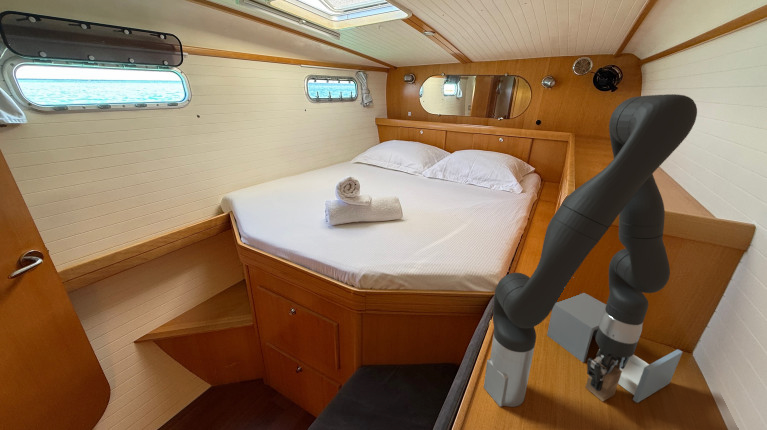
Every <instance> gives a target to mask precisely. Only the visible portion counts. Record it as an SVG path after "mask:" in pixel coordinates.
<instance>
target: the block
mask: <svg viewBox="0 0 767 430" xmlns="http://www.w3.org/2000/svg"><path fill="white" fill-rule="evenodd" d="M600 365H602V364H600ZM602 366H603V365H602ZM603 367H604V366H603ZM604 368H606V367H604ZM606 369H607V368H606ZM621 373H622V371H621V370H620V369H617V368H616V367H615V366H614V367H613V369H612V371H611V373H610V374H606V377H605V379H604V381H603V384H602V388H601V390H600V391H597V390H595V389H594V388H593V387H592V386H591V385H590V383H591V380H592V377H590V376H589V375H588V378H587V381H586V384H585V388H586V389H587V390H588V391H589V392H590V393H592V395H594V396H595V397H596V398H598V399H599V400H600V401H601V402H605V401H606V400H609V399H610V398H612V397H614V396H615V394H616V392H617V391H616V390H617V388H618V385H619V384H618V382H619V379H620V376H621ZM601 375H602V371H601Z"/></svg>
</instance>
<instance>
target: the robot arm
mask: <svg viewBox="0 0 767 430" xmlns="http://www.w3.org/2000/svg"><path fill="white" fill-rule="evenodd" d="M697 115H698V108H697V104H696V102H695V101H694V99H693V98H691V97H690V96H687V95H685V94H675V93H674V94H671V93H670V94H653V95H652V94H651V95H639V96H633V97H630V98H627V99H625V100H624V101H622V102H621V103H619V104H618V105H617V106H616V108H615V109H614V110H613V112H612V113H611V115H610V118H609V125H608V130H609V139H610V144H611V149H612V157H613V159H612V160H611V162H609V164H608V165H607V166H606V167H605V168H604V169H603V170H601V171H600V172H598V173H597V174H596V175H594V176H593V177H591V178H590V179H589V180H587V181H586V182H584V183H582V184H581V185H580V186H578V187H577V188H575V190H573V191H572V192H571V193H569V195H567V196H566V198H565V199H564V200H563V202H562V203H561V204H560V205H559V207H558V208H557V211H556V212H554V215H553V216H552V218H551V219H550V221H549V222H548V225H547V227H546V231H545V235H544V240H543V243H542V249H541V253H540V258H539V262H538V264H537V266H536V268H535V270H534V272H533V273H532V274H531V276H528V275H527V274H524V273H522V272H511V273H509V274H506V275H505V276H503V277H502V278H500V280H499V281H498V283H497V284H496V287H495V290H494V296H493V298H494V299H493V306H492V307H493V309H492V311H493V312H492V323H493V335H492V344H491V350H490V351H491V352H490V358H489V359H487V360H486V365H485V373H484V374H485V375H484V382H483V388H484V390H485V391H486V392H487V393H488V394H489V396H490V397H491V398H492V400H494V402H495V403H496V404H497V406H499V407H500V408H501V407H504V406H505V407H510V408H511V407H512V408H514V407H518V406H520V405H522V403H524V401H525V397H526V392H527V389H528V387H527V386H528V381H529V378H530V377H529V376H530V373H531V371H530V370H531V368H532V367H531V366H532V362H533V357H534V351H535V347H536V341H537V334H536V333H537V331H536V328H535V327H536V326H538V325H540V324H541V323H542V322H543V321H544V320H545V319H546V318H547V317H548V316H549V315H550V314H551V313H552V308H553V307H554V305H555V303H556V302H557V300H558V298H559V297H560V295H561V293H562V292H563V290H564V288H565V287H566V285H567V283H568V282H569V280H570V279H571V277H573V276H574V275H575V273H576V272H577V270H578V269H579V267H580V266H581V265H582V264H583V261H585V259H586V258H587V257H588V255H589V254H590V253H591V251H592V250H593V248H595V246H596V245H597V244H598V243H599V242H600V240H601V239H602V238H603V237H604V235H605V234H606V233H607V231H608V230H609V229H610V227H612V224H613V223H614V221H615V220H616V219H617V217H618V239H619V242H620V243H621V245H622V246H623V247H624V248H623V249H620V250H618V251H617V252H616V253H615V254H614V255H613V256H612V257H611V259H610V262H609V265H608V289H609V295H608V298H607V301H606V303H605V304H606V308H605V311H604V313H603V314H602V317H601V320H600V324H599V327H598V331H597V334H596V338H595V342H596V344H597V345H598V346H597V347H598V348H599V349H598V350H597V353H596V357H595V358H594V359H593V358H592V357H589V358H588V359H587V367H586V368H587V369H586V370H587V371H586V375H587V376H588V377H589V376H590V377H592V380H591V383H590V385H591V386H592V387H593V388H594V389H595V390H597V391H600V390H601V388H602V384H603V381H604V379H605V377H606V374H610V373H611V371H612V369H613V367H614V366H615V367H616V368H617V369H620V368H621V369H623V368H625V366H626V364H627V362H628V360H629V358H630V357H631V356H632V355H633V354H634V355H635V351H636V349H637V346H638V343H639V340H640V338H641V334H642V331H643V326H644V325H643V324H644V321H645V317H646V316H647V312H648V309H649V300H648V299H647V297H646V295H645V294H653V293H657V292H659V291H662V290H663V289H664V288H665V287H666V286H667V284H668V282H669V280H670V275H671V267H670V263H669V258H668V254H667V250H666V247H665V244H664V239H663V237H664V230H665V229H664V228H665V227H664V226H665V218H666V217H665V216H666V215H665V213H666V212H665V205H664V200H663V197H662V194H661V192H660V189H659V187H658V185H657V182H656V179H655V175H653V174H654V172H655V171H656V170H658V168H660V166H662V164H663V163H664V162H665V161H666V160H667V159H668V158H669V157H670V156H671V155H672V153H674V152H675V150H677V148H678V147H679V146H680V145H681V144H682V143H683V141H684V140H686V138H687V137H688V136H689V134H690V132H691V130H692V129H693V127H694V125H695V123H696V120H697ZM600 364H602V365H603V366H604V367H606V368H607V369H606V368H604V367H603V366H602V365H600ZM601 371H602V375H601Z"/></svg>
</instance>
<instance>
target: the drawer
mask: <svg viewBox="0 0 767 430" xmlns="http://www.w3.org/2000/svg"><path fill="white" fill-rule="evenodd" d="M682 354H683V351H682V350H680V349H679V348H677V349H676V350H674V351H672V352H670V353H668V354H666V355H664V356H662V357H661V358H659V359H657V360H655V361H653V362H652V363H650V364H649V363H648V362H646V361H645V360H643V359H642V358H640V357H639V356H637V355H635V353H634V354H633V355H632V356H631V357H630V358H629V360H628V362H627V364H626V366H625V368H623V369H621V368H620V370H621V371H622V373H621V376H620V379H619V382H618V385H619V386H621V387H622V388H623V389H625V390H626V391H627V392H629V393H630V394H632V395H633V398H632V401H634V402H635V403H636V404H638V403H640V402H641V401H643V400H645V399H646V398H648V397H650V396H651V395H653V394H655V393H656V392H658V391H660V390H662V389H663V388H664V387H666V386H668V385H669V384H670V383H671V381H672V379H673V376H674V374H675V372H676V370H677V366H678V364H679V362H680V360H681V357H682Z"/></svg>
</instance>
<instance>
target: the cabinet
mask: <svg viewBox="0 0 767 430" xmlns="http://www.w3.org/2000/svg"><path fill="white" fill-rule="evenodd" d="M606 304H607V303H604V302H602V301H600V300H598V299H596V298H594V296H591V295H590V294H587V293H585V292H582V293H580V294H579V295H576V296H573V297H571V298H568V299H565V300H562V301H559V302H556V303H555V305H554V307H553V308H552V310H551V312H550V319H549V323H548V329H547V333H546V336H547V337H549V338H550V339H551V340H552V341H554V342H555V343H557V344H558V345H559V346H561V347H562V348H563V349H564V350H566V351H567V352H569V353H570V354H571V355H573V356H574V358H576V359H577V360H579V361H581V363H585V362H586V361H587V357H588V353H589V349H590V345H591V342H592V339H593V337H594V339H596V334H597V331H598V327H599V324H600V320H601V317H602V314H603V313H604V311H605V308H606Z"/></svg>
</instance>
